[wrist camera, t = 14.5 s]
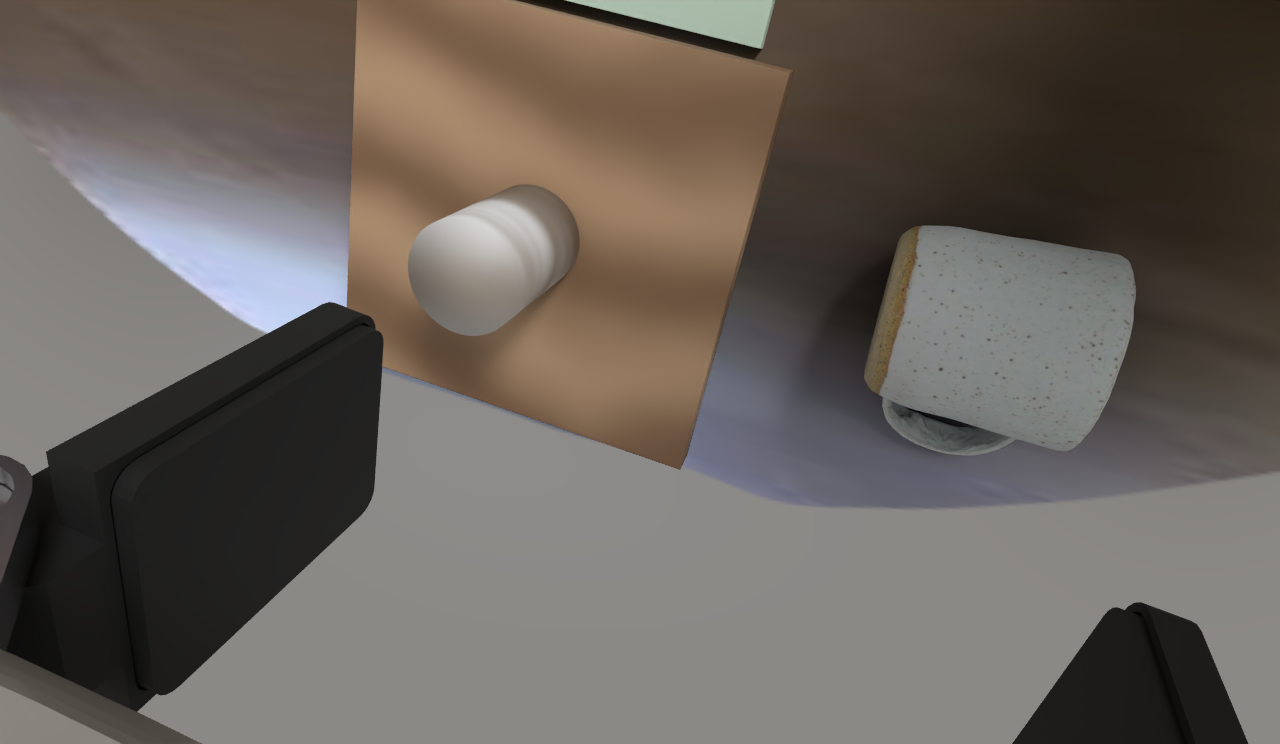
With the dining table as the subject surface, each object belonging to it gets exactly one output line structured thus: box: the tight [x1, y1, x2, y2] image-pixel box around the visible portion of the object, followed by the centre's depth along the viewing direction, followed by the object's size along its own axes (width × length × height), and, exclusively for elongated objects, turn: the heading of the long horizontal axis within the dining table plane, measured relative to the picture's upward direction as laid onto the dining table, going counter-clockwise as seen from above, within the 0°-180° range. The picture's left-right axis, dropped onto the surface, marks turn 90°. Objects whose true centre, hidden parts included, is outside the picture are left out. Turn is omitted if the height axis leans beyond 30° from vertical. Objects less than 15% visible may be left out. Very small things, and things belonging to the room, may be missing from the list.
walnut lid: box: [347, 0, 794, 469], centre depth 29 cm, size 16×16×7 cm
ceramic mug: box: [864, 225, 1136, 456], centre depth 32 cm, size 11×8×8 cm
